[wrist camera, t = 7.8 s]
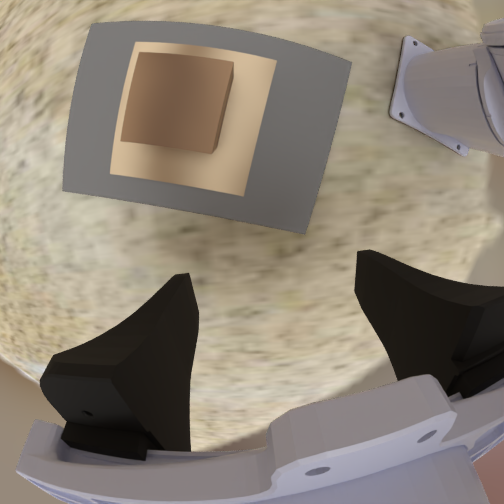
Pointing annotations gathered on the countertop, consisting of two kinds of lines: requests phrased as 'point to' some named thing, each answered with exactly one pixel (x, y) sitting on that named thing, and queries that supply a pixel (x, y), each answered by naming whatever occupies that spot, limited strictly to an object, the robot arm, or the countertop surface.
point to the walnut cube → (177, 101)
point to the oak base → (231, 137)
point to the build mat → (269, 138)
